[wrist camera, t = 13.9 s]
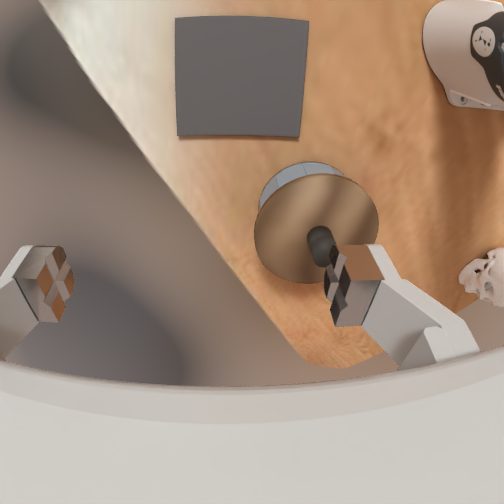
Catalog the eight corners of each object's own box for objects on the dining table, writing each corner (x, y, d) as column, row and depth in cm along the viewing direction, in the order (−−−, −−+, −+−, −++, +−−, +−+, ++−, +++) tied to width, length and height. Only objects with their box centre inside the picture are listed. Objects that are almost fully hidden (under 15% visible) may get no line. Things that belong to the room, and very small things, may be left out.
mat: (307, 21, 28) (308, 21, 28) (298, 135, 37) (299, 136, 37) (176, 18, 27) (175, 18, 27) (178, 134, 36) (177, 135, 36)
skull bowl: (452, 272, 53) (503, 292, 43) (477, 225, 55) (523, 240, 45) (454, 301, 58) (498, 321, 48) (478, 256, 61) (519, 272, 51)
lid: (388, 178, 35) (406, 198, 31) (359, 276, 45) (370, 301, 41) (257, 170, 34) (261, 191, 30) (251, 278, 44) (253, 306, 40)
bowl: (362, 165, 40) (379, 184, 35) (343, 246, 49) (354, 271, 44) (261, 159, 39) (265, 178, 34) (256, 246, 48) (258, 272, 43)
